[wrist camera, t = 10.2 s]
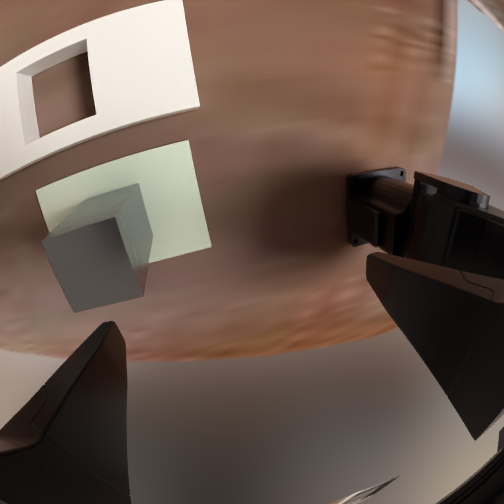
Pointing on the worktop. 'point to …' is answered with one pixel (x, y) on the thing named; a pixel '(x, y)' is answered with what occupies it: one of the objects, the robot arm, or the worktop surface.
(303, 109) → the worktop surface
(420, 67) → the worktop surface
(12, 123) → the cream window plate
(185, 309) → the worktop surface
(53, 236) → the grey rectangular block
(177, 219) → the green pad
